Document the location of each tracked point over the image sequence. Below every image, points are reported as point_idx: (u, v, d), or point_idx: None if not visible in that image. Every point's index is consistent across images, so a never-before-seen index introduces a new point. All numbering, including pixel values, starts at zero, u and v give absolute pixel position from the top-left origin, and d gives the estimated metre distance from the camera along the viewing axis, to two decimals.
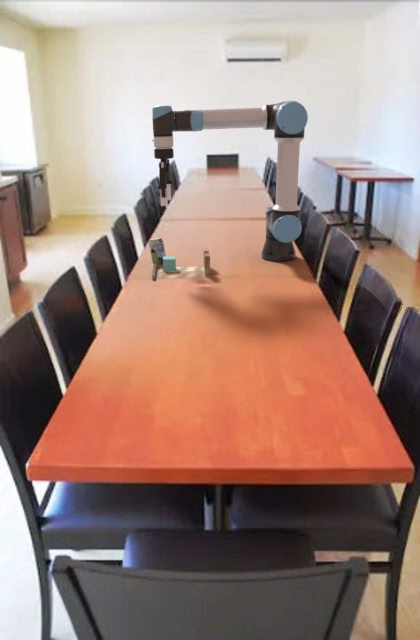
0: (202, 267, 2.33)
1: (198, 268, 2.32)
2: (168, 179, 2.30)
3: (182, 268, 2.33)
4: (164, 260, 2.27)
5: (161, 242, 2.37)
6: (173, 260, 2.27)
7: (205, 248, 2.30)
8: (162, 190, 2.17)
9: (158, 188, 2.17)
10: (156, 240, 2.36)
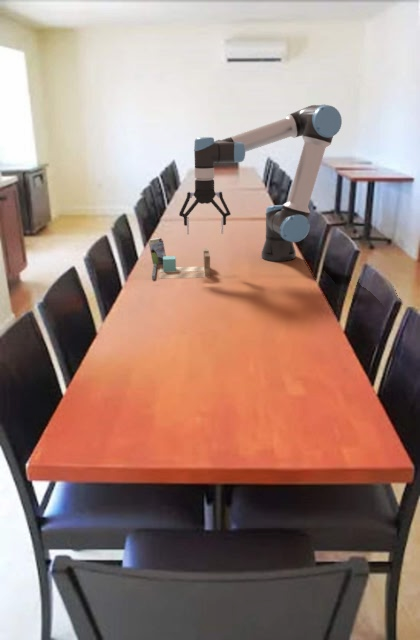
0: (202, 267, 2.33)
1: (198, 268, 2.32)
2: None
3: (182, 268, 2.33)
4: (164, 260, 2.27)
5: (161, 242, 2.37)
6: (173, 260, 2.27)
7: (205, 248, 2.30)
8: None
9: None
10: (156, 240, 2.36)
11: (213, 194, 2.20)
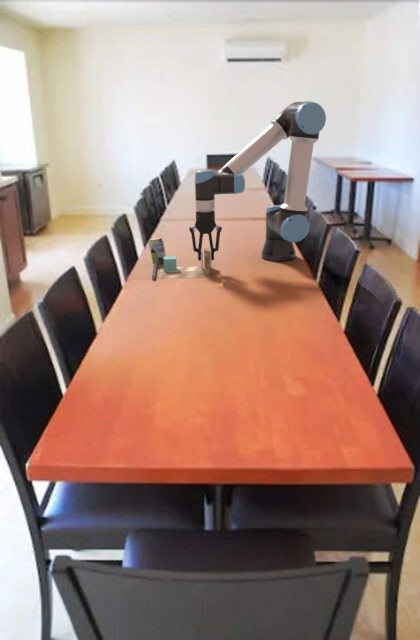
0: (203, 267, 2.33)
1: (199, 268, 2.32)
2: (210, 245, 2.27)
3: (183, 268, 2.33)
4: (165, 260, 2.27)
5: (161, 242, 2.37)
6: (174, 260, 2.27)
7: (206, 248, 2.30)
8: (198, 253, 2.29)
9: None
10: (156, 240, 2.36)
11: (213, 225, 2.24)
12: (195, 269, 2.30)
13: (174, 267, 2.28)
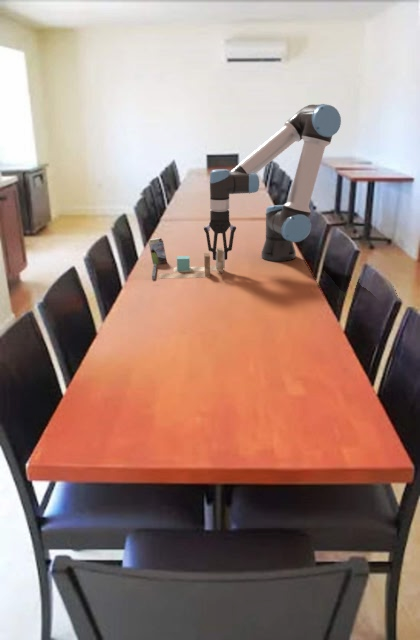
0: None
1: (212, 268, 2.32)
2: None
3: (196, 267, 2.33)
4: (178, 260, 2.27)
5: (161, 242, 2.37)
6: (187, 260, 2.27)
7: (219, 248, 2.30)
8: None
9: None
10: (156, 240, 2.36)
11: (228, 225, 2.24)
12: None
13: (187, 267, 2.28)
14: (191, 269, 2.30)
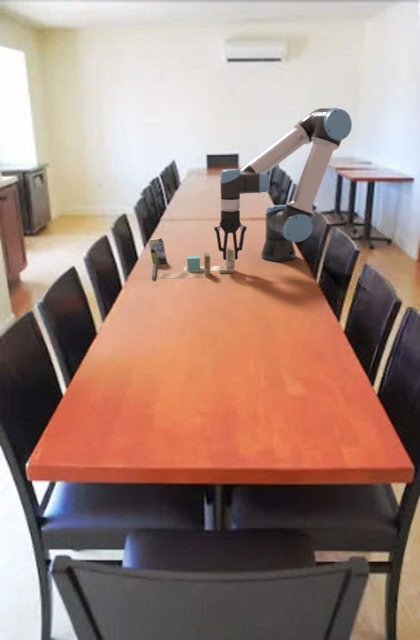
0: None
1: (222, 267, 2.32)
2: (234, 245, 2.28)
3: None
4: (188, 259, 2.27)
5: (161, 242, 2.37)
6: (197, 259, 2.27)
7: (229, 247, 2.30)
8: (223, 252, 2.29)
9: None
10: (156, 240, 2.36)
11: (238, 224, 2.24)
12: (218, 268, 2.31)
13: (198, 266, 2.28)
14: (201, 269, 2.30)
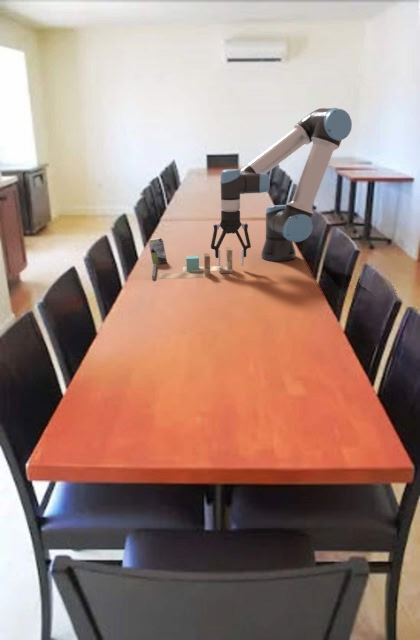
0: (225, 266, 2.33)
1: (221, 267, 2.32)
2: (241, 243, 2.28)
3: None
4: (188, 259, 2.27)
5: (161, 242, 2.37)
6: (196, 259, 2.27)
7: (228, 247, 2.30)
8: (215, 251, 2.29)
9: None
10: (156, 240, 2.36)
11: (239, 224, 2.24)
12: (217, 268, 2.31)
13: (197, 266, 2.28)
14: (200, 269, 2.30)
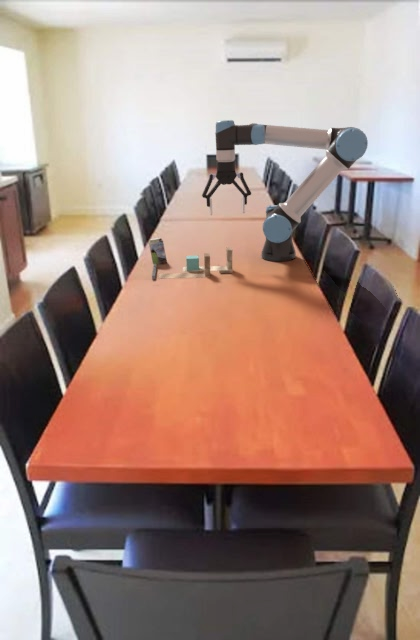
0: (225, 266, 2.33)
1: (221, 267, 2.32)
2: None
3: None
4: (188, 259, 2.27)
5: (161, 242, 2.37)
6: (196, 259, 2.27)
7: (228, 247, 2.30)
8: None
9: None
10: (156, 240, 2.36)
11: (234, 175, 2.29)
12: (217, 268, 2.31)
13: (197, 266, 2.28)
14: (200, 269, 2.30)
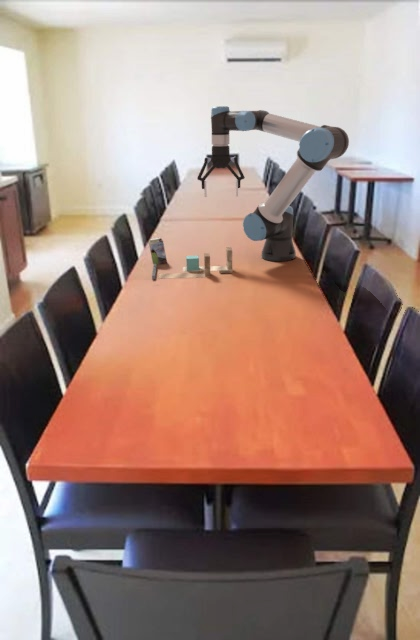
0: (225, 266, 2.33)
1: (221, 267, 2.32)
2: None
3: None
4: (188, 259, 2.27)
5: (161, 242, 2.37)
6: (196, 259, 2.27)
7: (228, 247, 2.30)
8: None
9: None
10: (156, 240, 2.36)
11: (228, 159, 2.40)
12: (217, 268, 2.31)
13: (197, 266, 2.28)
14: (200, 269, 2.30)
